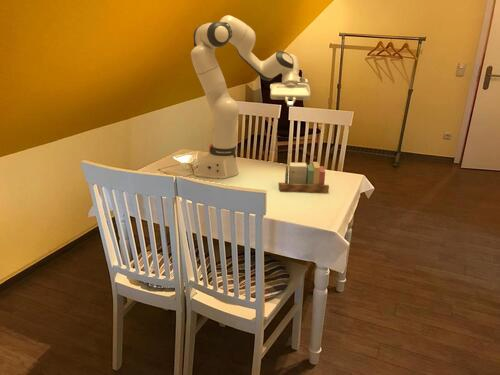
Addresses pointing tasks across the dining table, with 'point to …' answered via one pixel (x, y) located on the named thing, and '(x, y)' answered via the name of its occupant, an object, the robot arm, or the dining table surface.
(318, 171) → the upright books
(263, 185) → the dining table surface
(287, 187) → the walnut rail
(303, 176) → the small box
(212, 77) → the robot arm
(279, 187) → the bookend
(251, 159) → the dining table surface
